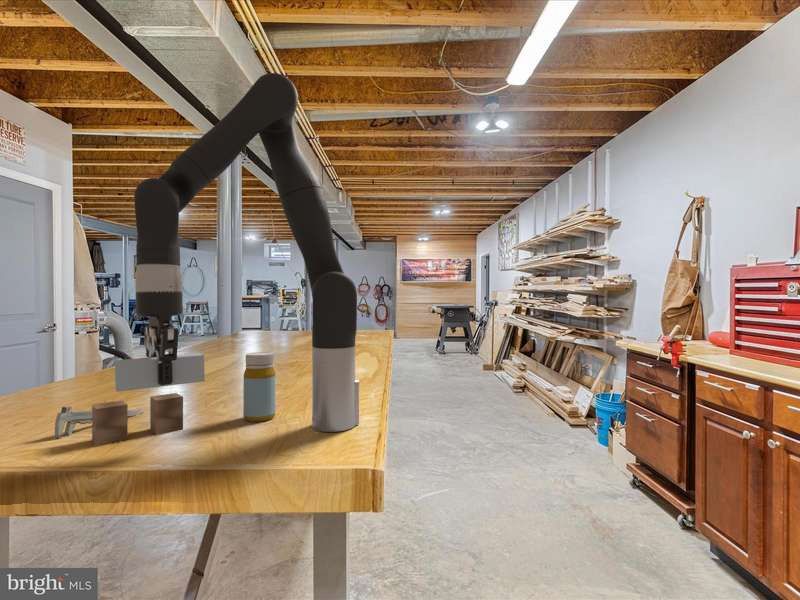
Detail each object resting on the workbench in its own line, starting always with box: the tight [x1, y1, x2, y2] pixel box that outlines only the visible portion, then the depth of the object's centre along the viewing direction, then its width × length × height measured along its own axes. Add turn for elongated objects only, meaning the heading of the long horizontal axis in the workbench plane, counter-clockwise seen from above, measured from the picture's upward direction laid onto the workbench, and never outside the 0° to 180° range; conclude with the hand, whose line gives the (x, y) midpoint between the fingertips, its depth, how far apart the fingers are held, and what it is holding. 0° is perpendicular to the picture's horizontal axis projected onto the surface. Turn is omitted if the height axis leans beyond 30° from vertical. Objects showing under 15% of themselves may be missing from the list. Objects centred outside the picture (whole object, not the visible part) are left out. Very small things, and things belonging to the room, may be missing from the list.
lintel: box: [114, 352, 206, 393], centre depth 77 cm, size 14×4×5 cm, turn 125°
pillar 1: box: [91, 399, 129, 447], centre depth 82 cm, size 5×5×7 cm
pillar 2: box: [149, 392, 184, 436], centre depth 89 cm, size 5×5×7 cm
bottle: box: [242, 351, 276, 423], centre depth 97 cm, size 7×7×15 cm
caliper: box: [54, 406, 145, 439], centre depth 92 cm, size 20×1×6 cm, turn 166°
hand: (161, 382), depth 77 cm, fingers closed on lintel, 4 cm apart
